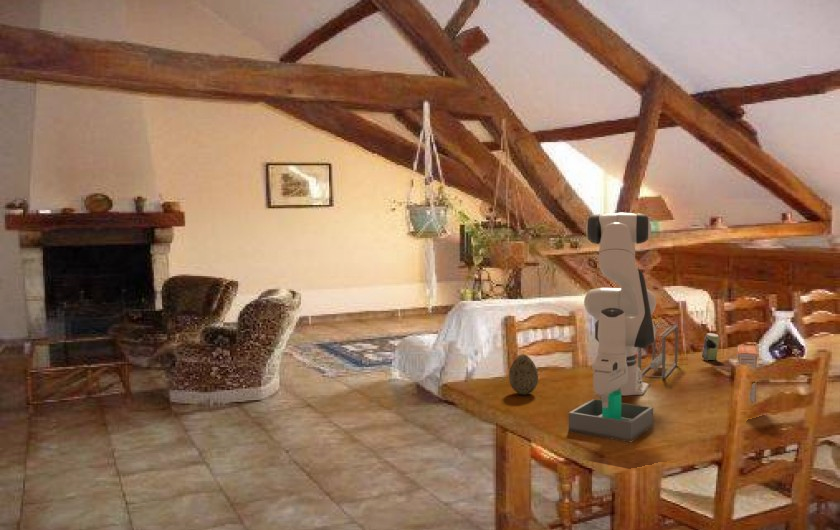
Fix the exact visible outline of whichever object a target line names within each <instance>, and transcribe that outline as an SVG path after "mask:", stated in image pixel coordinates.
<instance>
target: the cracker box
mask: <svg viewBox="0 0 840 530" xmlns="http://www.w3.org/2000/svg"><path fill="white" fill-rule="evenodd" d="M757 355H758V354H757V350H756V346H755V345H745V344H744V345H743V344H742V345H740V344H739V345H737V360H736V361H737V364H736V365H738V364H741V363H746V364H749V365H751V366H752V367H753V368H757V367H758V364H757V362H758V360H757V359H758V356H757ZM750 402H751V403H755V402H756V403H757V381H756V382H755V383H753V384H752V388H751V392H750Z"/></svg>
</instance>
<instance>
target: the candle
mask: <svg viewBox="0 0 840 530" xmlns="http://www.w3.org/2000/svg"><path fill="white" fill-rule="evenodd" d="M608 402H609V407H608V408H603V407H602V417H605V418H612V419H618V420H621V403H622V395H621V392H619V391H614V392H612V393H610V394H609V397H608Z"/></svg>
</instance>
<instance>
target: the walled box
mask: <svg viewBox="0 0 840 530" xmlns="http://www.w3.org/2000/svg"><path fill="white" fill-rule="evenodd" d="M651 426H652V427H653V426H654V407H653V406H646V405H640V404H633V403H627V402H621V420H618V419H612V418H605V417H602V400H601V398H592V399H591V400H589V401H587V402H585V403H583V404H581V405H580V406H577V407H576V408H574V409H573V410H571V411H569V412H568V432H570V433H576V434H582V435H588V436H592V435H594V436H593V437H598V436H600V437H599V438H604V437H605V438H604V439H609V438H613V439H612V440H615V439H618V440H617V441H620V440H625V441H624V442H626V441H632V440H633V441H635V440H636V439H637V438H639V437H640V436H641V435H643V434H644V433H646V432H647V431H648V430H649V429H651V428H652V427H651ZM650 427H651V428H650ZM647 429H648V430H647ZM646 430H647V431H646ZM643 432H644V433H643ZM642 433H643V434H642ZM640 434H641V435H640ZM639 435H640V436H639ZM638 436H639V437H638ZM606 437H607V438H606ZM636 437H637V438H636ZM635 438H636V439H635ZM634 439H635V440H634ZM633 441H632V442H633Z"/></svg>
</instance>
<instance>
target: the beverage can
mask: <svg viewBox="0 0 840 530" xmlns="http://www.w3.org/2000/svg"><path fill="white" fill-rule="evenodd" d="M719 344H720V336H719V335H718V334H717V333H714V332H708V333H707V332H706V335H704V341H703V345H702V354H701V358H703V360H705V361H708V360H714V361H716V360H717V355H718V351H719Z"/></svg>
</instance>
